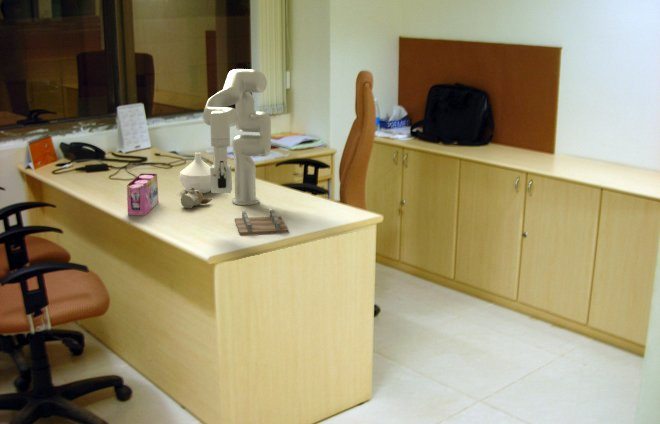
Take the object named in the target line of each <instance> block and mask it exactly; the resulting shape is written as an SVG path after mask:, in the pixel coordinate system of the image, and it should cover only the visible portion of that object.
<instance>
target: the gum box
mask: <svg viewBox="0 0 660 424" xmlns="http://www.w3.org/2000/svg"><path fill="white" fill-rule="evenodd" d="M158 187H159V185H158V173H140V174H138V176H136V177H135V178H134V179H133V180H131V181H129V183H127V184H126V194H127V195H126V196H127V197H126V198H127V199H126V200H127V215H128V216H143V217H144V216H146V215H147V214H148V213H149V212H150V211H151V210H152V209H153V208H154V207H155V206H157V204H158V203H159V189H158Z"/></svg>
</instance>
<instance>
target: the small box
mask: <svg viewBox="0 0 660 424" xmlns="http://www.w3.org/2000/svg"><path fill="white" fill-rule="evenodd" d="M210 167H211V168H210V175H211V190H210V192H211V194H231V192H232V191H233V184H232V182H233V181H232V165H231V164H227V170H225V177H226V188H218V171H215V170H214V164H212V165H211V166H210ZM225 169H226V168H225ZM219 170H221V169H219ZM220 173H221V172H220Z"/></svg>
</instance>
